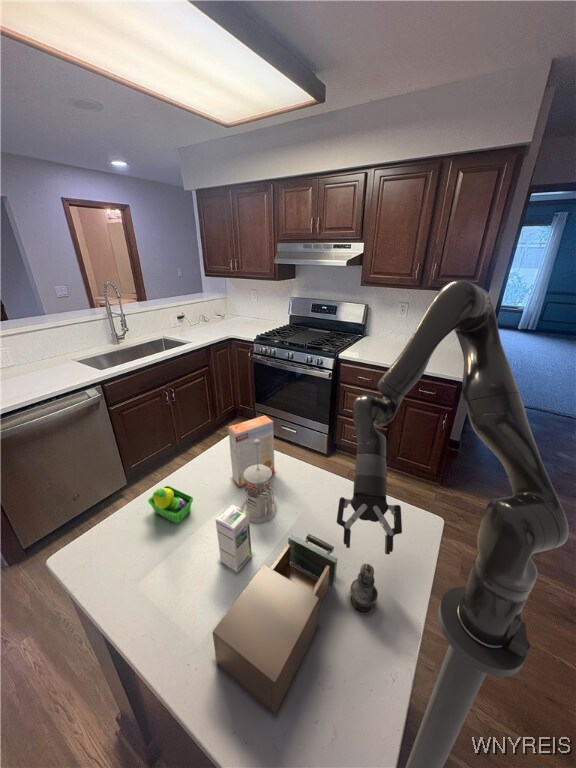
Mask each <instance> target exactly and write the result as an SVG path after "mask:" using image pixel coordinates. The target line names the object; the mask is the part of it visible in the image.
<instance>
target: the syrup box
mask: <svg viewBox="0 0 576 768" xmlns="http://www.w3.org/2000/svg"><path fill="white" fill-rule="evenodd" d="M250 525H251V524H250V521H249V513H247V512H245V511H244V510H243V509H242V508H240V507H238V506H236V505H234V504H231V505H229V506H228V507H227V509H225V510H224V511H223V512H222V513H221V514H220V515H219V516H217V517H216V518H215V527H216V534H217V541H218V550H219V558H220V562H221V563H222V564H224V565H226V566H227V567H228V568H230V569H231V570H233V571H234V572H236V573H238V572H240V570H241V569H242V567H244V566H245V564H246V563H247V562H248V560H249V559H250V558H251V557H252V556H253V554H252V553H253V551H252V540H251V539H252V538H251V526H250Z"/></svg>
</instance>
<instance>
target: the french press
mask: <svg viewBox="0 0 576 768" xmlns="http://www.w3.org/2000/svg"><path fill="white" fill-rule="evenodd" d="M260 443H261V442H260V440H257V439H256V440H254V445H260ZM272 476H273V473H272V471H271V469H270V468H269V467H267V466H265V465H261V464H258V446H257V465H253V466H250V467H248V468H247V469H246V470H245V472H244V477H245V479H246V480H247V481H248V482H247V483H246V485H245V488H244V492H245V493H244V494H245V505H244V506H243V509H242V510H244V511H245V512H247V513H249V522H252V523H254V524H255V523H264V522H267V521H269V520H270V519H272V518H273V517H274V515H275V513H276V506H275V504H274V503H275V493H274V491H273V489H272V484H271V481H270V478H272Z"/></svg>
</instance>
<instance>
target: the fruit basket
mask: <svg viewBox="0 0 576 768" xmlns="http://www.w3.org/2000/svg"><path fill="white" fill-rule="evenodd" d="M193 501H194V497H193V496H191V495H189V494H186V493H185V492H182V491H180V490H178V489H176V488H174V487H173V486H171V485H170V486H169V485H166V486H164V487H161V488H157V489H155V490H154V492H153V493H152V496H150V497H149V498H148V500H147V503H148V504H149V505H150V506H151V507H152V509H153V510H154V512H155V513H156V514H157V515H160V516H162V517H163V518H166V519H167V520H168V521H172V522H173V523H175V524H179V523H180V521H182V520H183V519H184V518H185V517H186V516H187V515H188V514H190V512H191V508H192V503H193Z"/></svg>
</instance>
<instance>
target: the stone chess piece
mask: <svg viewBox="0 0 576 768" xmlns="http://www.w3.org/2000/svg"><path fill="white" fill-rule="evenodd" d="M374 576H375V568H374V566H372V565H371V564H369V563H363V564H362V565H361V566H360V570H359V573H358V574H357V578H356V579H355V580H353V581H352V582H351V584H350V594H351V595H350V603H351V606H352V609H354V610H355V611H356V612H357V613H360V614H363V615H367V614H370V613H372V612H373V611H374V608H375V603H376V602H377V600H378V595H379V592H378V589H377V587H376V585H375V577H374Z"/></svg>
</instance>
